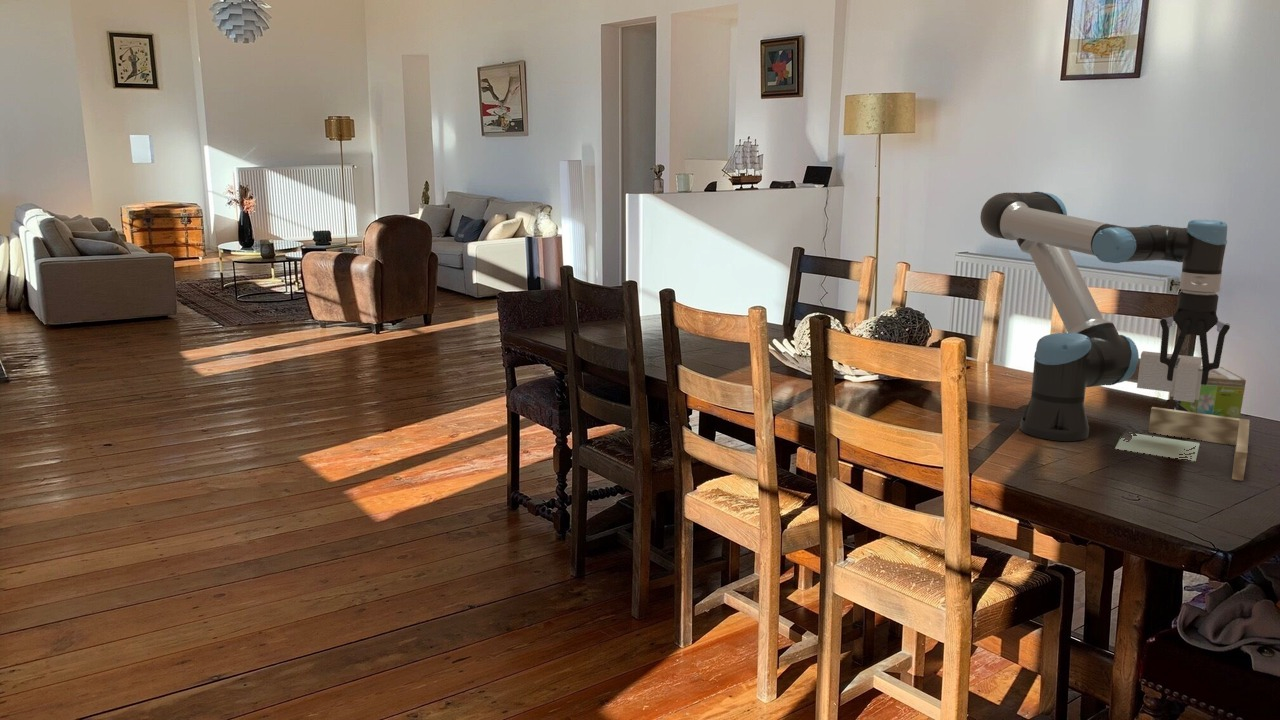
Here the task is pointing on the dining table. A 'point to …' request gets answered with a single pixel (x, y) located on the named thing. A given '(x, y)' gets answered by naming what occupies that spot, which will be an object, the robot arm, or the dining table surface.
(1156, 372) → the bracket
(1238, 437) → the wooden corner fence
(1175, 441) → the mat
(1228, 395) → the tea box
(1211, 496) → the dining table surface
